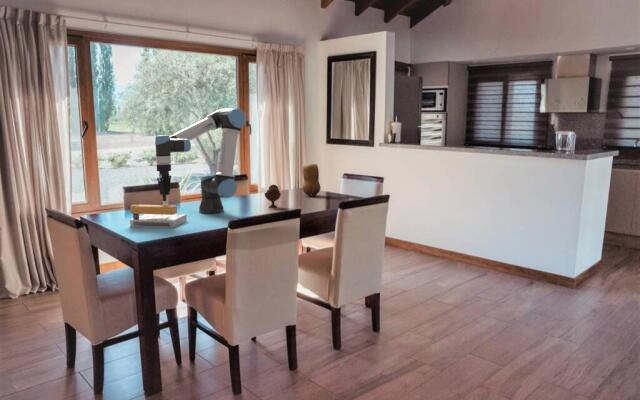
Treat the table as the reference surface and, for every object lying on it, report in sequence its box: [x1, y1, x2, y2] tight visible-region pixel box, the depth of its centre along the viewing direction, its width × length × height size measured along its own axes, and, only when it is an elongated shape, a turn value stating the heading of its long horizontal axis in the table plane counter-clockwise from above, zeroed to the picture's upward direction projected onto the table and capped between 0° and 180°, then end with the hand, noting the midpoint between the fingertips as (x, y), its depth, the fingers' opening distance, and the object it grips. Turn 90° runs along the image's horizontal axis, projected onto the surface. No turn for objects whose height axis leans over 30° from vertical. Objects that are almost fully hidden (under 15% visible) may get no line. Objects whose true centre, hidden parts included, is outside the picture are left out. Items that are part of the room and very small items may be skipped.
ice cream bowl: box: [264, 184, 282, 209], centre depth 318 cm, size 11×11×15 cm
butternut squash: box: [302, 163, 322, 197], centre depth 366 cm, size 14×13×25 cm
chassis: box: [129, 213, 188, 229], centre depth 266 cm, size 18×24×7 cm
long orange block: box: [130, 203, 178, 215], centre depth 259 cm, size 6×24×4 cm, turn 83°
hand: (165, 206), depth 267 cm, fingers closed
